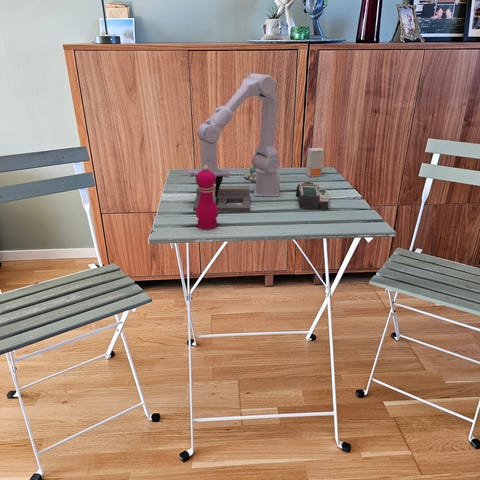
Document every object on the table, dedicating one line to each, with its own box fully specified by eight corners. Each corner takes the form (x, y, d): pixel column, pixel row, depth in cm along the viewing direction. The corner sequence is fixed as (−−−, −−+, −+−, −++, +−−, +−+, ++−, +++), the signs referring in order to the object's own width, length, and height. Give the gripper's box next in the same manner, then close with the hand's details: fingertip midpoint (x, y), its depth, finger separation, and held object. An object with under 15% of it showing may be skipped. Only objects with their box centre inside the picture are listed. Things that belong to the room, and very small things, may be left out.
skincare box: (308, 177, 178) (311, 150, 173) (305, 174, 182) (307, 148, 176) (321, 176, 179) (324, 149, 174) (317, 173, 183) (320, 147, 178)
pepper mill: (201, 231, 127) (199, 170, 118) (192, 223, 133) (190, 164, 124) (222, 227, 130) (221, 167, 121) (212, 219, 136) (211, 161, 127)
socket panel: (249, 195, 156) (249, 185, 155) (249, 211, 142) (250, 200, 140) (197, 195, 157) (197, 184, 155) (193, 211, 142) (192, 199, 140)
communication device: (323, 189, 166) (326, 168, 162) (329, 211, 144) (332, 187, 140) (294, 188, 167) (295, 167, 163) (295, 209, 145) (297, 185, 141)
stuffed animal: (239, 170, 169) (246, 157, 178) (240, 185, 173) (247, 172, 182) (264, 172, 166) (270, 159, 176) (264, 187, 171) (270, 174, 180)
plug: (215, 202, 150) (215, 184, 146) (215, 207, 145) (214, 189, 142) (205, 202, 150) (204, 184, 146) (203, 207, 145) (203, 189, 142)
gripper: (186, 162, 136) (188, 199, 143) (229, 162, 136) (229, 200, 142) (189, 156, 143) (190, 192, 149) (230, 157, 143) (230, 193, 149)
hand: (209, 196), depth 146 cm, fingers open, 4 cm apart
